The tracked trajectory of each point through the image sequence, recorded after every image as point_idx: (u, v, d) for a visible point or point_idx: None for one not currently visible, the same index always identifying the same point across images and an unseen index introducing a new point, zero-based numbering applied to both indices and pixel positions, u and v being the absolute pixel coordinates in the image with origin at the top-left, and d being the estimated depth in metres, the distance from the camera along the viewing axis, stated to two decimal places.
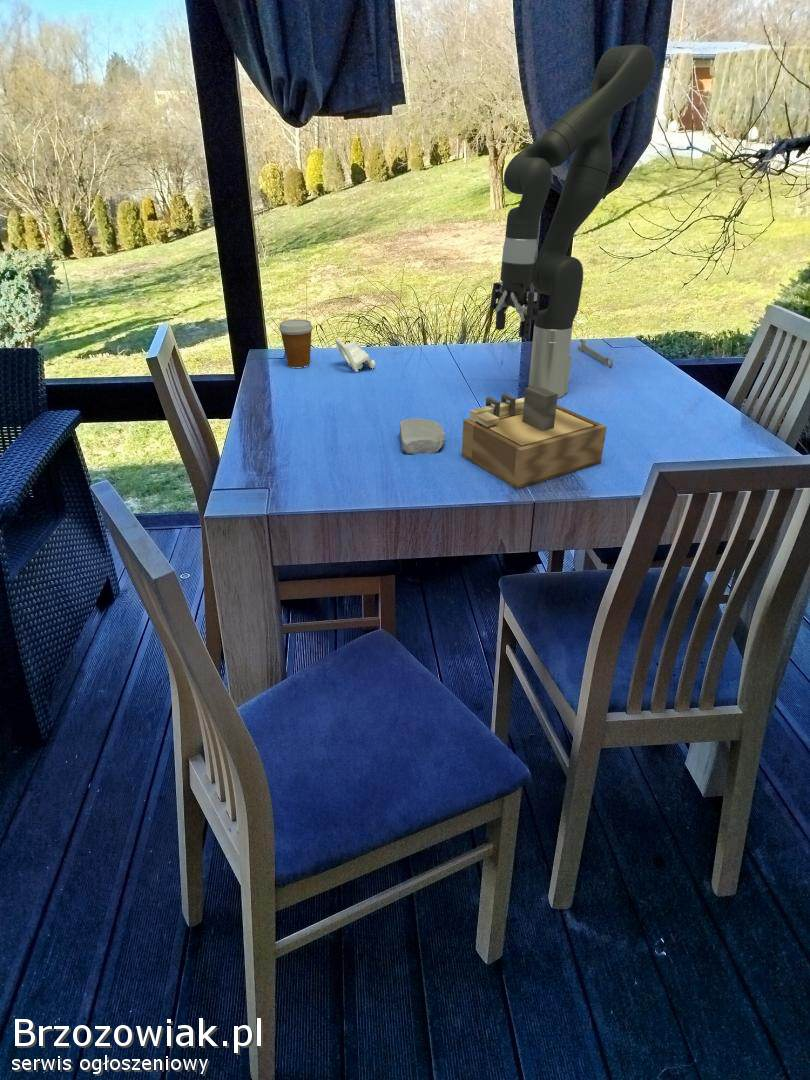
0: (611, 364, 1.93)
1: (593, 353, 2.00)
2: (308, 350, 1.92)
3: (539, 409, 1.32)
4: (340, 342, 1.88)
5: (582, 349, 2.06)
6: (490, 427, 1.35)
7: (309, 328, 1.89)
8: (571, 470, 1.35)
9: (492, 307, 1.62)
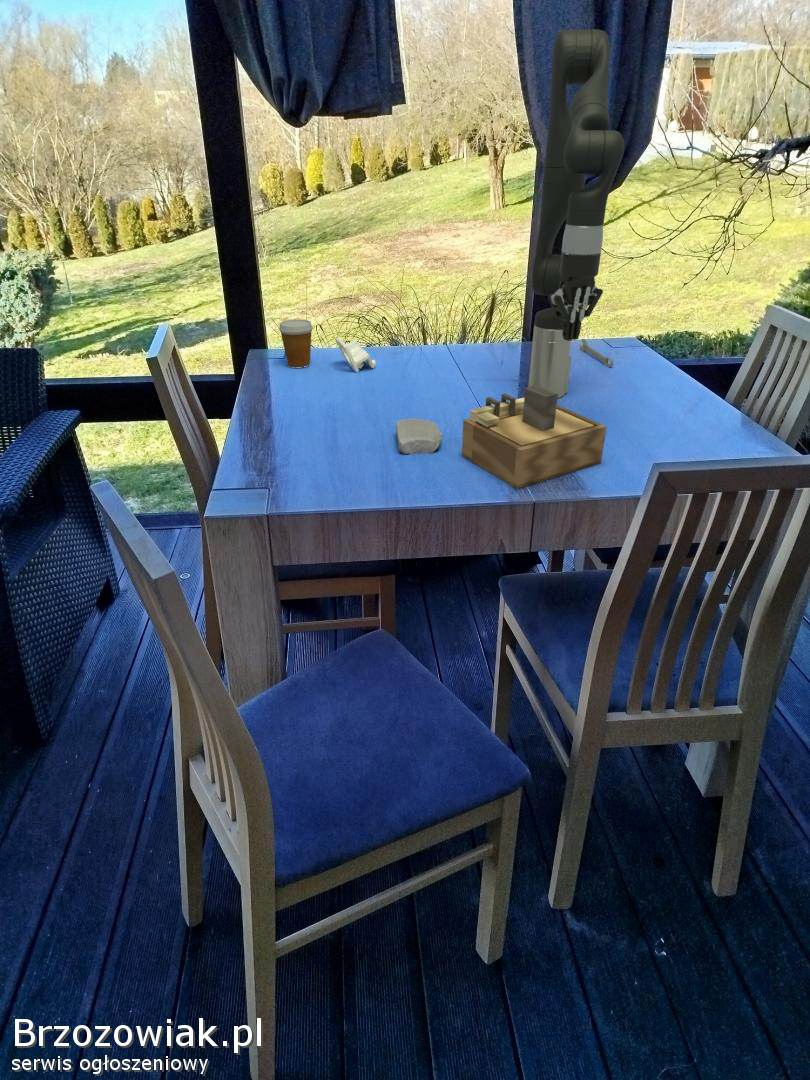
0: (611, 364, 1.93)
1: (594, 353, 2.00)
2: (308, 350, 1.92)
3: (539, 409, 1.32)
4: (340, 341, 1.88)
5: (584, 349, 2.07)
6: (490, 427, 1.35)
7: (309, 328, 1.89)
8: (571, 470, 1.35)
9: (567, 318, 1.37)
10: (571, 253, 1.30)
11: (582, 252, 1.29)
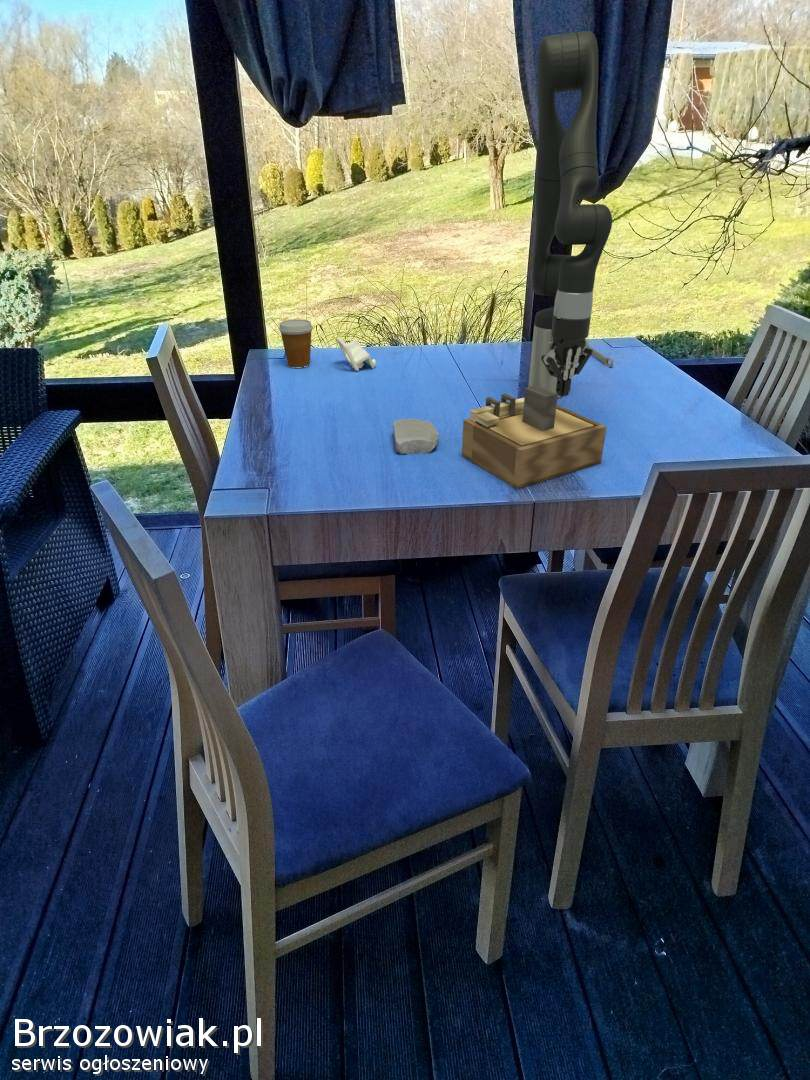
0: (611, 364, 1.93)
1: (595, 353, 2.01)
2: (308, 350, 1.92)
3: (539, 409, 1.32)
4: (341, 341, 1.89)
5: None
6: (490, 427, 1.35)
7: (309, 328, 1.89)
8: (571, 470, 1.35)
9: (560, 376, 1.43)
10: (562, 317, 1.36)
11: (573, 317, 1.35)
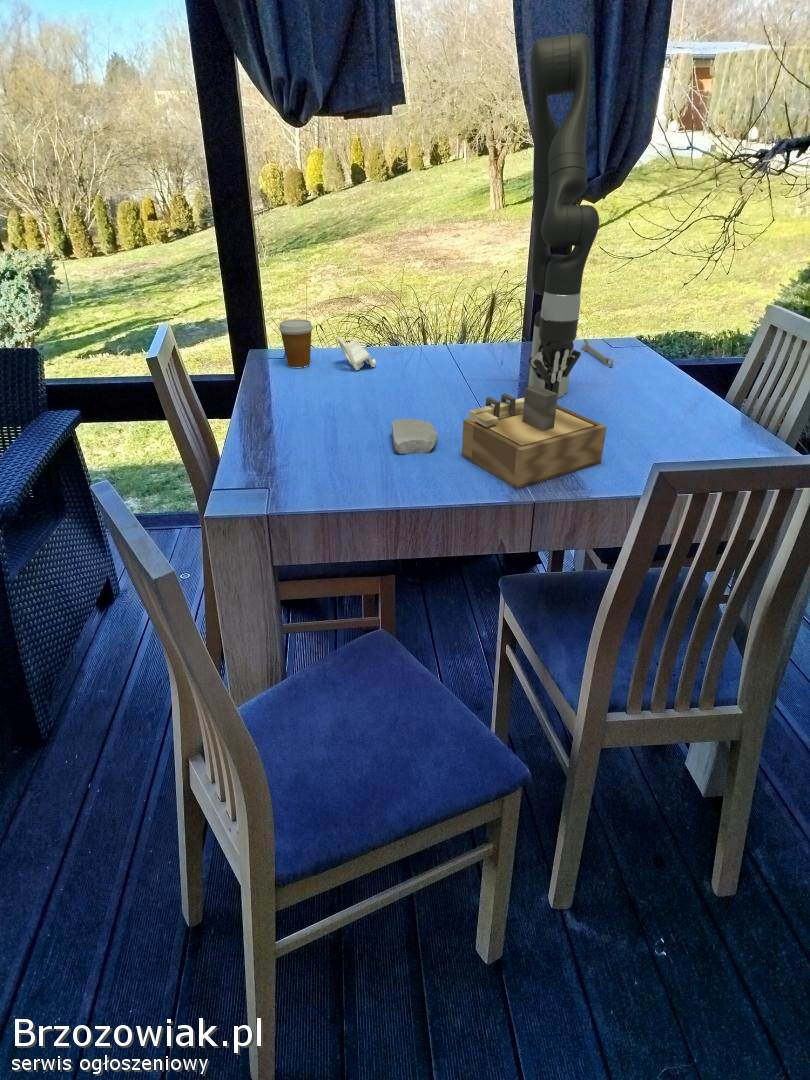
0: (611, 364, 1.93)
1: (595, 353, 2.01)
2: (308, 350, 1.92)
3: (539, 409, 1.32)
4: (341, 340, 1.89)
5: (585, 349, 2.07)
6: (490, 427, 1.35)
7: (309, 328, 1.89)
8: (571, 470, 1.35)
9: (548, 378, 1.41)
10: (549, 319, 1.35)
11: (560, 319, 1.34)
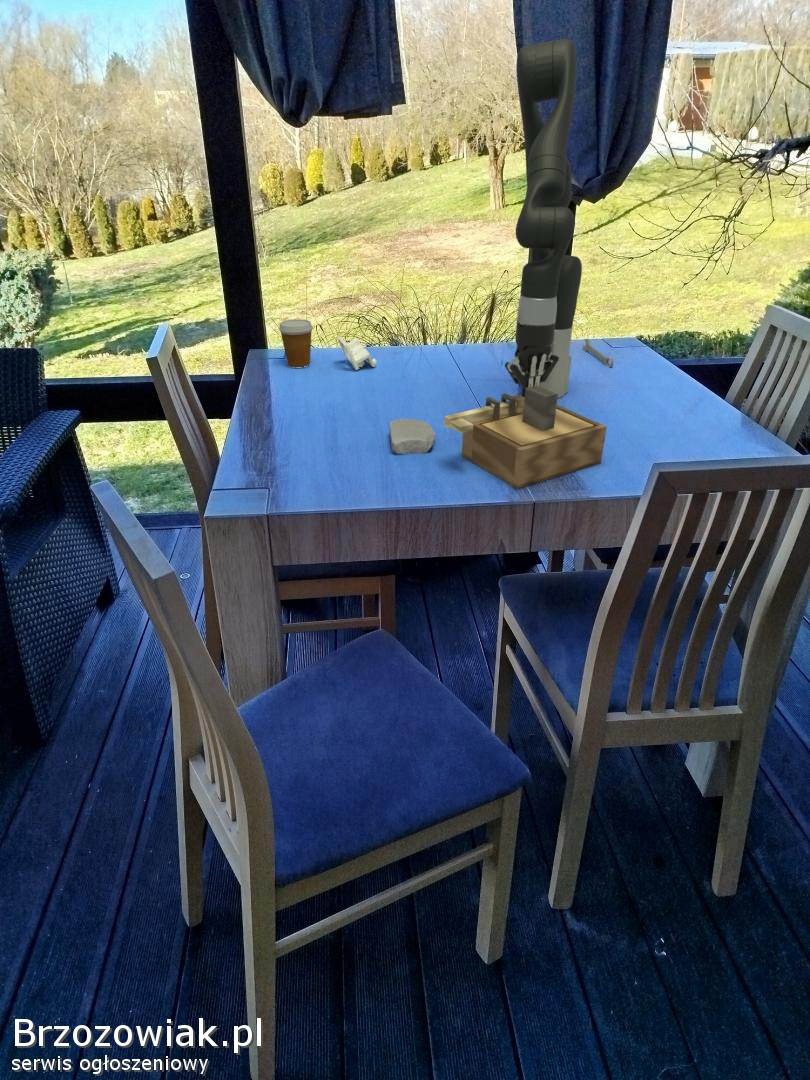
0: (611, 364, 1.93)
1: (596, 353, 2.01)
2: (308, 350, 1.92)
3: (539, 409, 1.32)
4: (341, 340, 1.89)
5: (586, 349, 2.07)
6: (490, 427, 1.35)
7: (309, 328, 1.89)
8: (571, 470, 1.35)
9: (525, 383, 1.39)
10: (525, 323, 1.32)
11: (536, 323, 1.31)
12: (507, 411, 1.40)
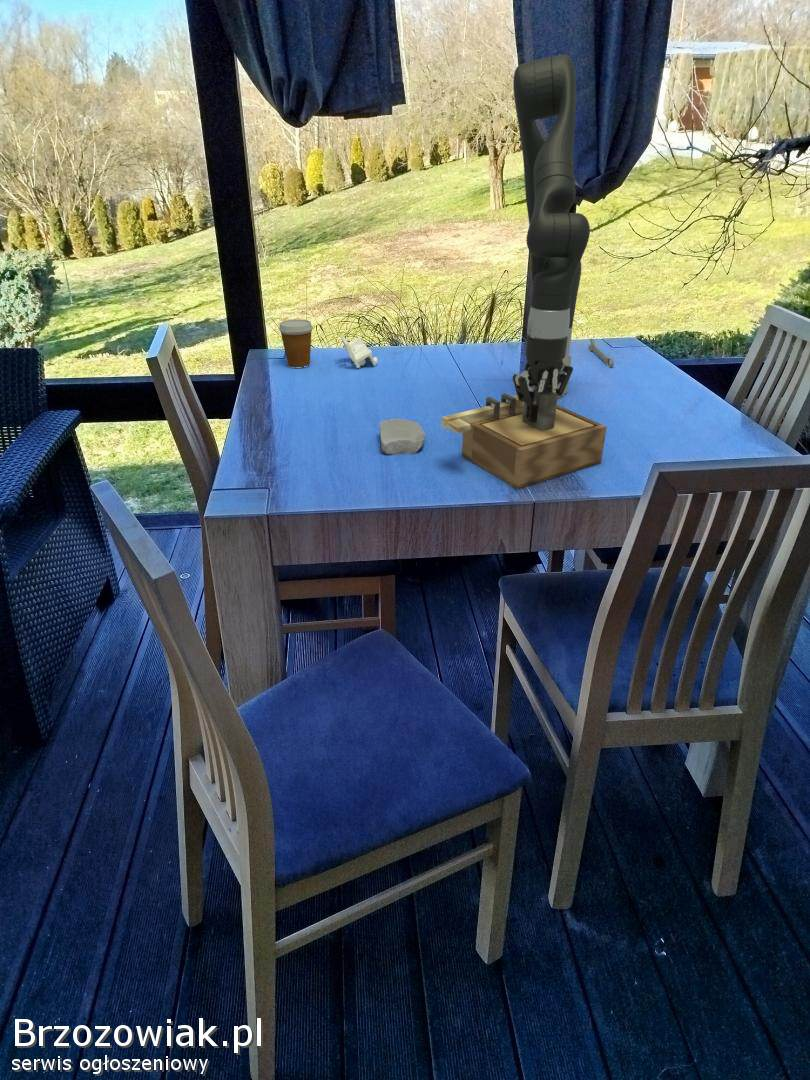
0: (611, 364, 1.93)
1: (598, 353, 2.01)
2: (308, 350, 1.92)
3: (539, 409, 1.32)
4: (343, 338, 1.91)
5: (591, 348, 2.07)
6: (490, 427, 1.35)
7: (309, 328, 1.89)
8: (571, 470, 1.35)
9: (530, 401, 1.30)
10: (536, 337, 1.24)
11: (547, 336, 1.23)
12: (505, 412, 1.40)
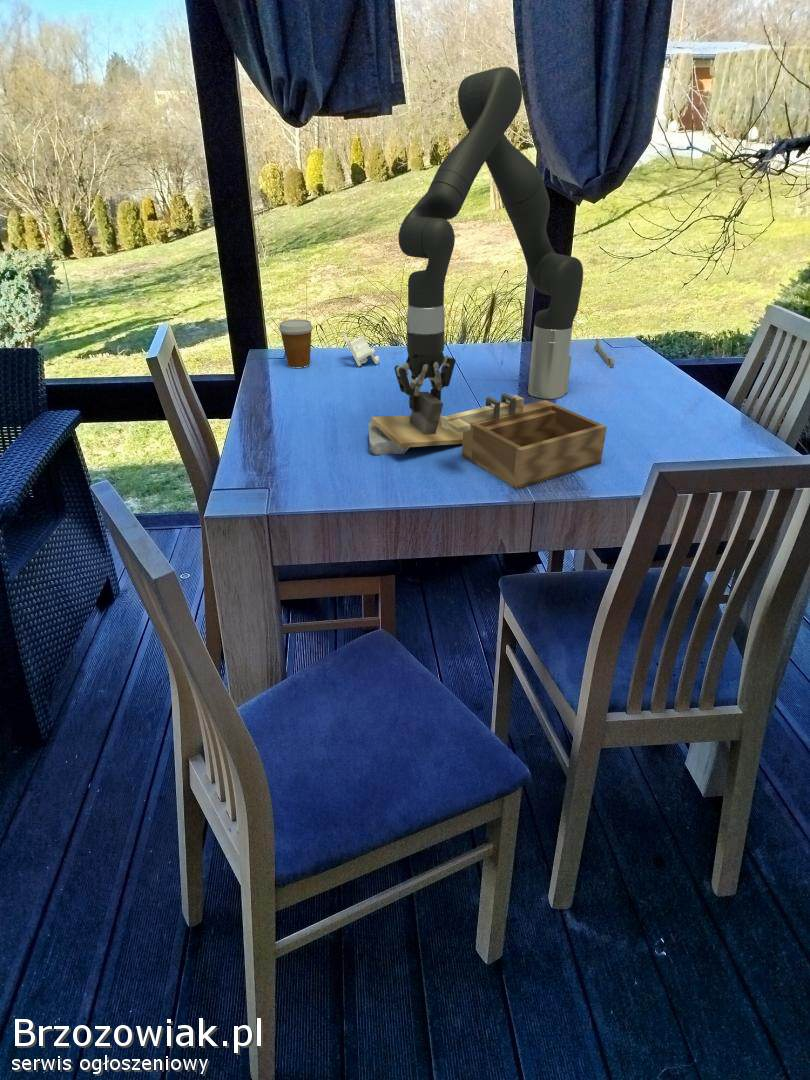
0: (612, 364, 1.93)
1: (602, 353, 2.01)
2: (308, 350, 1.92)
3: (424, 413, 1.43)
4: (345, 336, 1.93)
5: (596, 349, 2.07)
6: (378, 421, 1.44)
7: (309, 328, 1.89)
8: (571, 470, 1.35)
9: (410, 392, 1.39)
10: (413, 332, 1.33)
11: (423, 332, 1.32)
12: (505, 412, 1.40)
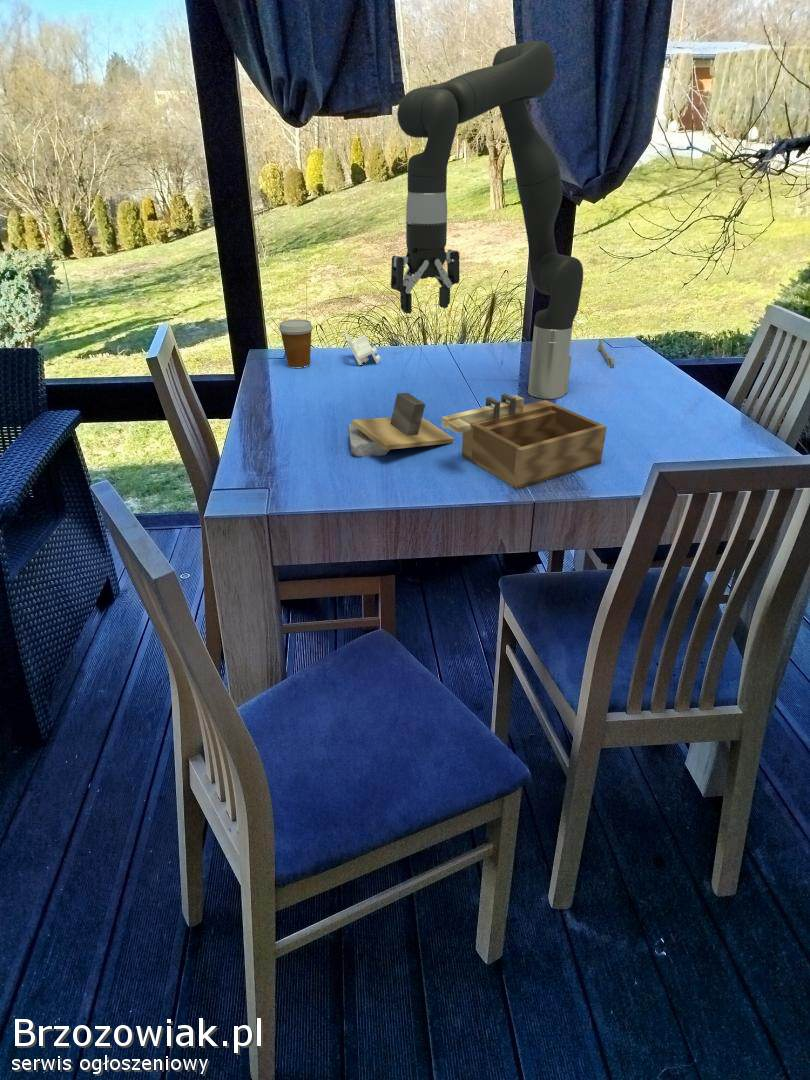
0: (612, 364, 1.93)
1: (603, 353, 2.01)
2: (308, 350, 1.92)
3: (406, 414, 1.42)
4: (346, 335, 1.94)
5: (599, 348, 2.07)
6: (360, 424, 1.43)
7: (309, 328, 1.89)
8: (571, 470, 1.35)
9: (400, 289, 1.27)
10: (413, 222, 1.23)
11: (423, 221, 1.22)
12: (505, 412, 1.40)
